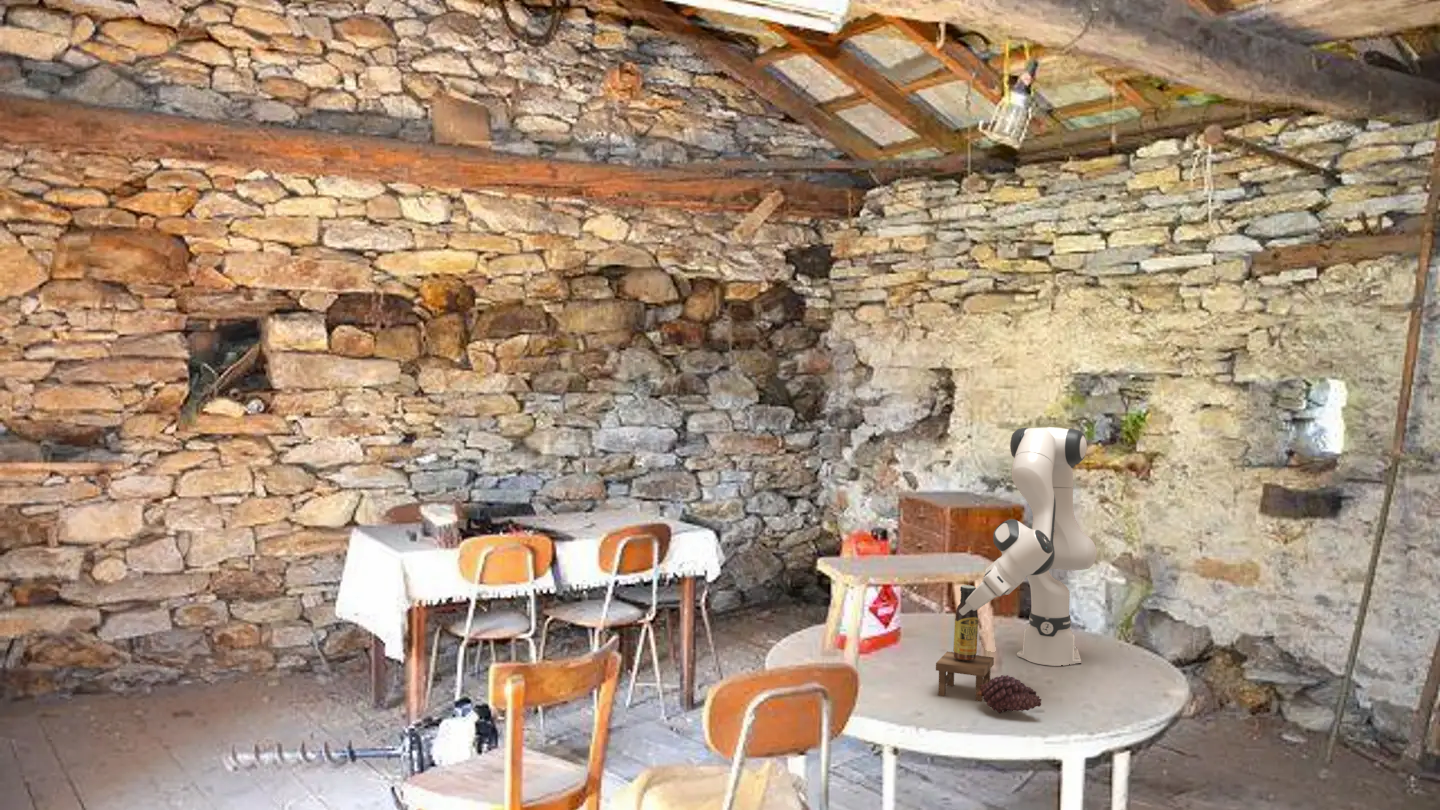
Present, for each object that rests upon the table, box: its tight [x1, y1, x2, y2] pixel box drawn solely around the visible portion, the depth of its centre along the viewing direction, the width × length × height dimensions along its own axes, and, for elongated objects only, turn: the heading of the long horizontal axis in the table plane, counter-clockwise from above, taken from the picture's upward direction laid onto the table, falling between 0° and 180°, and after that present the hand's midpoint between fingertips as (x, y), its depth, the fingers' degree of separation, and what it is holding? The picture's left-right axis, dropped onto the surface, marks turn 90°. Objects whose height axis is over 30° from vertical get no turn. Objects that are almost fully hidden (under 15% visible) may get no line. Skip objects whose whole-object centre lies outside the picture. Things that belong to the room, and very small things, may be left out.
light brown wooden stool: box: [935, 651, 995, 703], centre depth 301 cm, size 13×13×9 cm
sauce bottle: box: [952, 584, 979, 660], centre depth 300 cm, size 7×6×20 cm
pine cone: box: [977, 675, 1042, 714], centre depth 284 cm, size 18×10×10 cm, turn 49°
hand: (964, 610), depth 300 cm, fingers open, 6 cm apart
